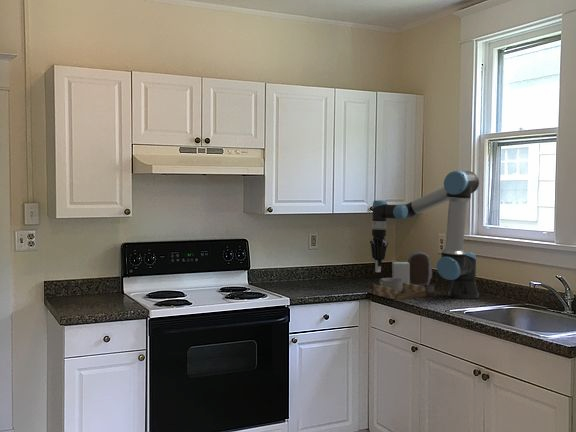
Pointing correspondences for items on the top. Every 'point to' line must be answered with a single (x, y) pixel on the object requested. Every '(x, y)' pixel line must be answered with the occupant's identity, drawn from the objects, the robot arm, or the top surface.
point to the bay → (406, 291)
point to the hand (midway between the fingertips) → (378, 271)
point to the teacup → (392, 283)
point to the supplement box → (401, 271)
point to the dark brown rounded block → (420, 268)
